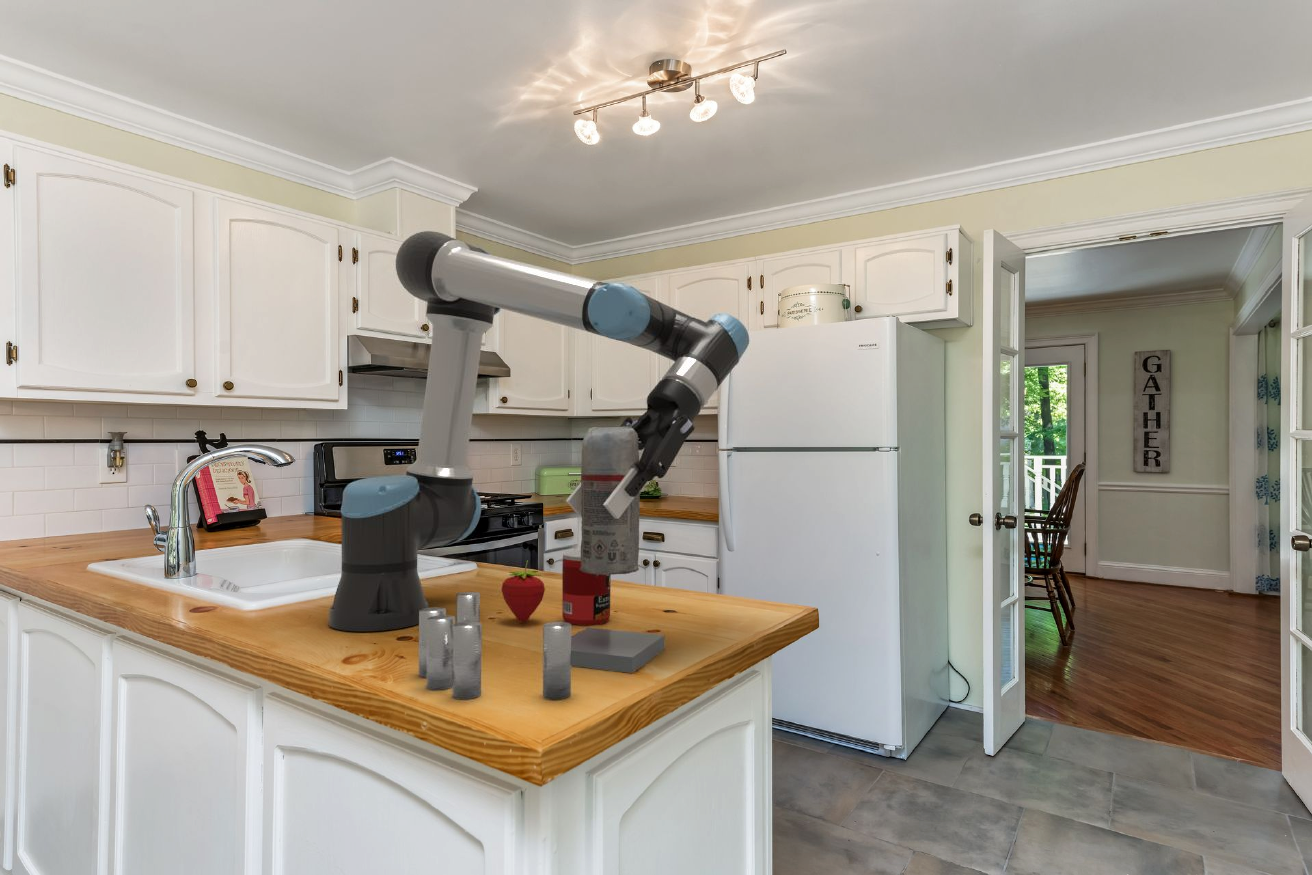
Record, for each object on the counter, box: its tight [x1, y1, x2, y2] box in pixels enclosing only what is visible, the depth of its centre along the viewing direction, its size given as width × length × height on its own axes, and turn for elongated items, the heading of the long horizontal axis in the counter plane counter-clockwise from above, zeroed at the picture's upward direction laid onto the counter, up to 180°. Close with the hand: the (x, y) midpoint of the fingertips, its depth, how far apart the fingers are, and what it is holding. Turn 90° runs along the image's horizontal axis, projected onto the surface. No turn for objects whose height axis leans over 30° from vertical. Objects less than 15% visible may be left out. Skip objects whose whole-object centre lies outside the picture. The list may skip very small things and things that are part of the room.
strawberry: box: [501, 560, 546, 623], centre depth 121 cm, size 6×8×10 cm
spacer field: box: [418, 591, 572, 701], centre depth 93 cm, size 23×18×8 cm
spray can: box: [580, 426, 641, 576], centre depth 102 cm, size 8×8×20 cm
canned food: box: [561, 550, 612, 626], centre depth 123 cm, size 8×8×11 cm
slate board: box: [571, 627, 666, 674], centre depth 102 cm, size 12×12×2 cm
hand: (591, 509), depth 100 cm, fingers closed on spray can, 8 cm apart
